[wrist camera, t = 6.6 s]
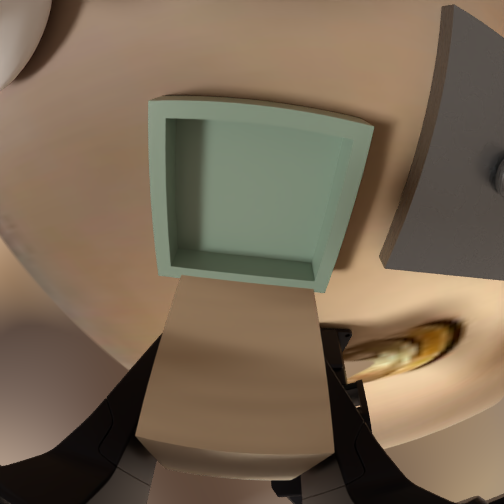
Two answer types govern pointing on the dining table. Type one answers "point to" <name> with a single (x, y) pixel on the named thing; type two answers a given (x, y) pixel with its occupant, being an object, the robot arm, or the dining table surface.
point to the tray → (252, 188)
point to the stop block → (238, 383)
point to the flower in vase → (20, 34)
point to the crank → (500, 179)
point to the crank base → (456, 161)
